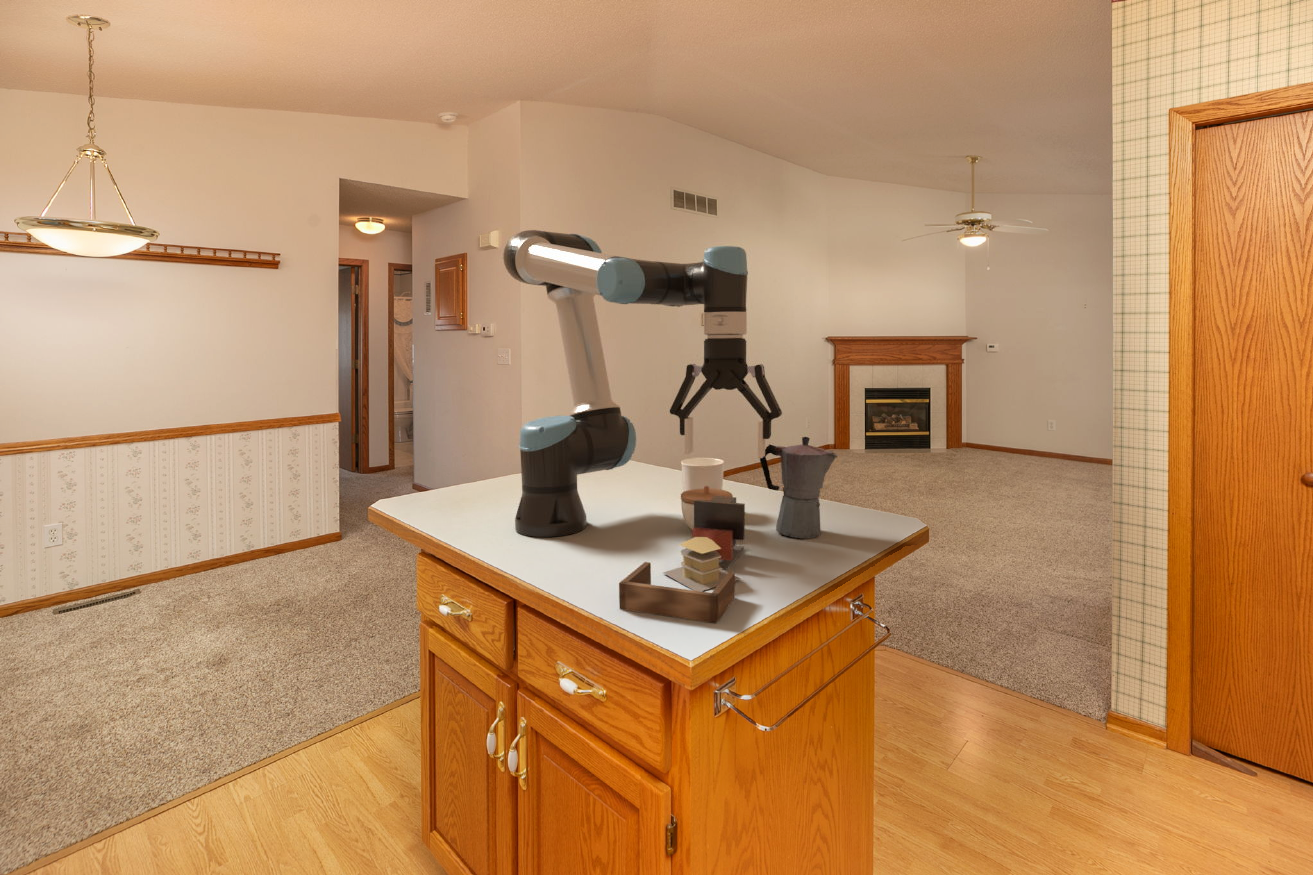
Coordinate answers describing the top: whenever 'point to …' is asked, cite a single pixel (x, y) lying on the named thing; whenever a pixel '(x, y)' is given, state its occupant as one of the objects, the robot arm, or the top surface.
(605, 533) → the top surface
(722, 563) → the grey flat block
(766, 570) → the top surface
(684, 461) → the candle holder
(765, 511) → the top surface
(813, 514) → the moka pot
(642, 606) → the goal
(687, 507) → the lidded jar
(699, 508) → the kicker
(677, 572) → the stacked layers on plate
